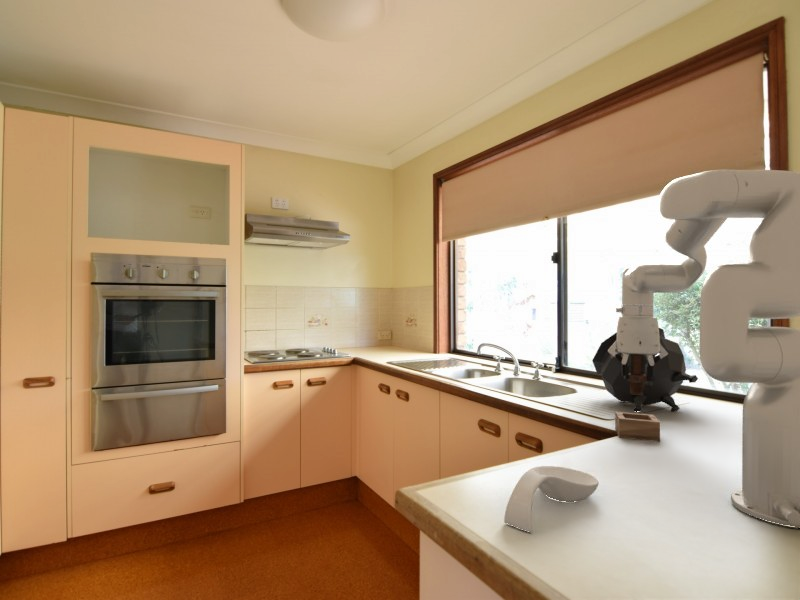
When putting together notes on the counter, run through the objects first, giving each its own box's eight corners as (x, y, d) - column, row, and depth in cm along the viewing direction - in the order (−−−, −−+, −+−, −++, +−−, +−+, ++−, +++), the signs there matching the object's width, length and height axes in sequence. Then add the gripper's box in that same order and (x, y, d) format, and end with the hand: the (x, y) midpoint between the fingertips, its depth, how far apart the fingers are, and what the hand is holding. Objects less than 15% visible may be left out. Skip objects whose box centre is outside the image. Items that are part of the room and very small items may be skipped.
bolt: (650, 397, 118) (651, 340, 118) (629, 396, 119) (630, 339, 119) (643, 392, 124) (643, 338, 124) (623, 391, 125) (624, 338, 125)
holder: (659, 441, 116) (660, 422, 116) (619, 437, 119) (619, 418, 119) (653, 432, 124) (653, 414, 124) (615, 429, 127) (615, 411, 127)
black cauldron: (612, 402, 139) (575, 348, 158) (640, 436, 155) (603, 383, 174) (697, 353, 132) (647, 303, 151) (718, 395, 147) (670, 344, 166)
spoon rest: (546, 478, 91) (546, 443, 91) (607, 495, 83) (607, 456, 83) (485, 519, 74) (485, 475, 74) (555, 546, 66) (556, 497, 66)
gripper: (604, 311, 121) (604, 379, 121) (676, 312, 115) (676, 383, 115) (601, 311, 128) (601, 375, 128) (669, 312, 122) (669, 379, 122)
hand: (636, 378), depth 121 cm, fingers closed on bolt, 4 cm apart
